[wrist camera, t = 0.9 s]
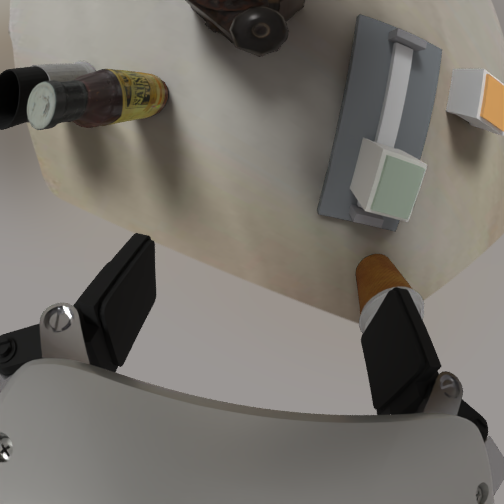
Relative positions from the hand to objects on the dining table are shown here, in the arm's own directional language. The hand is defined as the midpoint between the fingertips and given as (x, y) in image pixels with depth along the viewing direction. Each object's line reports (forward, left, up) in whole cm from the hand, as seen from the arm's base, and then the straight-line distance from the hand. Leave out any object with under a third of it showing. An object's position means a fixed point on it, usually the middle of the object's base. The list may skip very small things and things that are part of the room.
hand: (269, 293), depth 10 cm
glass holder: (-7, -29, -28) cm, 41 cm away
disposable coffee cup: (+15, +19, -28) cm, 37 cm away
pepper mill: (-18, -5, -28) cm, 34 cm away
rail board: (-7, +13, -28) cm, 31 cm away
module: (-16, +25, -28) cm, 40 cm away
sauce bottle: (-6, -18, -28) cm, 34 cm away
